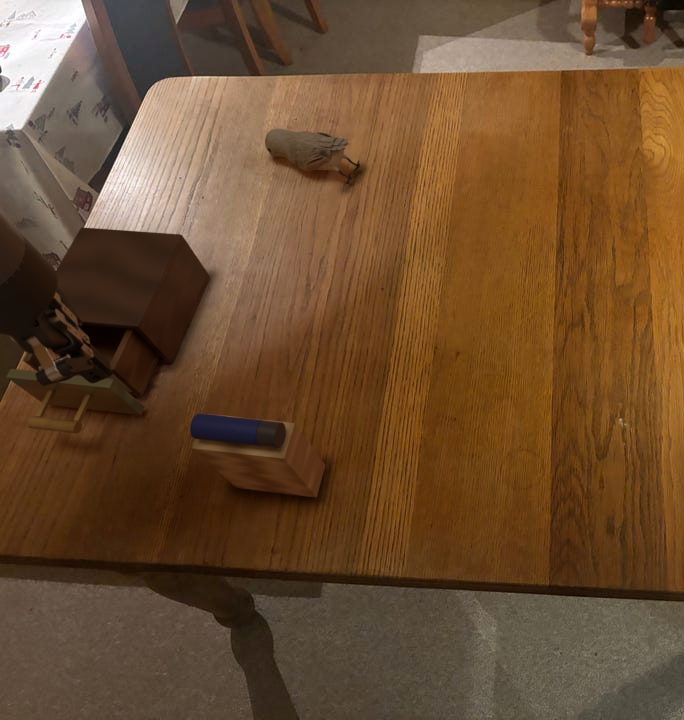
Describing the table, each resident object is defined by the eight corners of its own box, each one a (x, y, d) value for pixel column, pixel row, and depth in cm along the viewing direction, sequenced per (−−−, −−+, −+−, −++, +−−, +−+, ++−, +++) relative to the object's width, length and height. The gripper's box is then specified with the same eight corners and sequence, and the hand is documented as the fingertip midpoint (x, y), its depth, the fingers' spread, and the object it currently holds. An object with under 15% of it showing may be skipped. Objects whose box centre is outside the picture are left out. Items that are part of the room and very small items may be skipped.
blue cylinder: (198, 442, 68) (186, 433, 66) (206, 419, 69) (195, 409, 67) (281, 451, 67) (272, 442, 64) (288, 428, 68) (279, 418, 66)
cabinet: (172, 364, 87) (137, 326, 80) (72, 354, 89) (28, 316, 81) (210, 276, 95) (181, 234, 87) (117, 269, 96) (80, 227, 89)
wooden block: (236, 487, 78) (191, 448, 68) (246, 456, 80) (204, 413, 70) (316, 497, 77) (283, 458, 66) (325, 465, 79) (294, 422, 68)
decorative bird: (282, 145, 108) (266, 107, 101) (368, 168, 104) (357, 130, 97) (264, 167, 105) (247, 129, 99) (351, 192, 101) (339, 154, 95)
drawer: (125, 451, 80) (90, 426, 74) (26, 439, 82) (-16, 414, 76) (180, 325, 89) (154, 293, 83) (90, 317, 91) (57, 285, 85)
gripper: (-89, 221, 51) (51, 341, 66) (-76, 346, 45) (75, 447, 60) (10, 184, 53) (124, 309, 67) (35, 300, 46) (156, 409, 61)
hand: (101, 373), depth 64 cm, fingers closed
